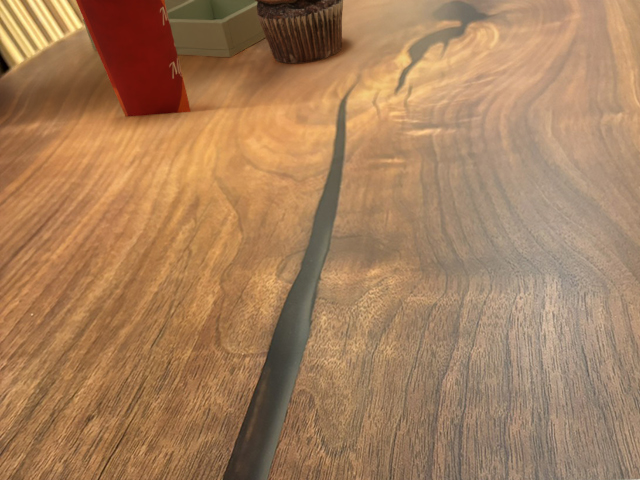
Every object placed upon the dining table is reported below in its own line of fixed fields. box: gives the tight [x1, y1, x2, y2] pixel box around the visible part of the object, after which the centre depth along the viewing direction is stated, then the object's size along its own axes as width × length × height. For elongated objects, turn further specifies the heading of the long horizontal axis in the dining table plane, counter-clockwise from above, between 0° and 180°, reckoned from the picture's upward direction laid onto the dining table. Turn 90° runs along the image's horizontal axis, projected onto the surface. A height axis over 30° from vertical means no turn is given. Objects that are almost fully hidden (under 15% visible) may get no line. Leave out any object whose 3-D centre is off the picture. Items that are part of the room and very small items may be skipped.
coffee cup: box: [75, 0, 191, 118], centre depth 66 cm, size 8×8×15 cm
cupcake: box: [255, 0, 344, 64], centre depth 79 cm, size 10×10×10 cm
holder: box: [82, 0, 266, 58], centre depth 91 cm, size 12×23×4 cm, turn 61°
